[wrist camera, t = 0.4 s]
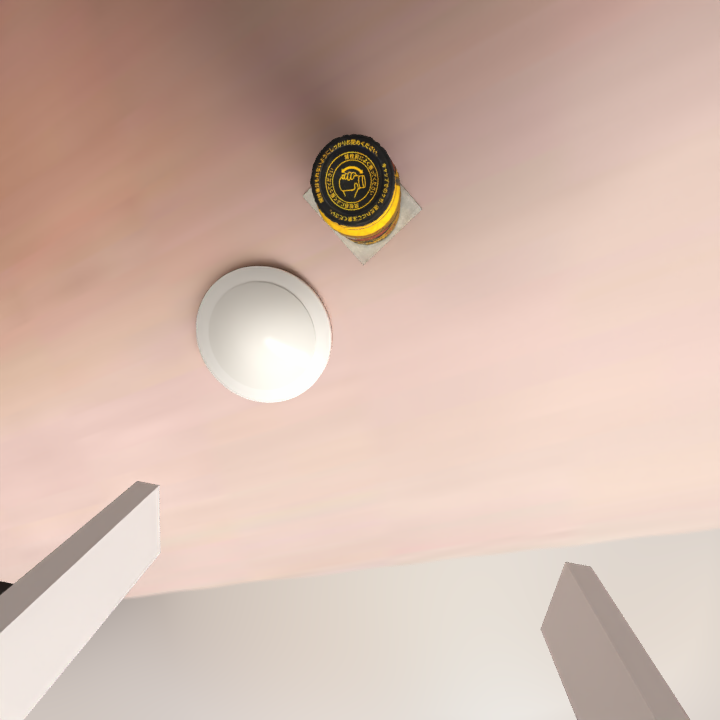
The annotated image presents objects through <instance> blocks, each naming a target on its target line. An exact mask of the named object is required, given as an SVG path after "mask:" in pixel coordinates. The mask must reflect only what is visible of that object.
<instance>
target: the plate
mask: <svg viewBox="0 0 720 720" xmlns="http://www.w3.org/2000/svg"><path fill="white" fill-rule="evenodd" d="M196 337H197V343H198V347H199V350H200V353H201V356H202V358H203V360H204V362H205V364H206V366H207V367H208V369H209V370H210V372H211V373H212V374H213V376H214V377H215V378H216V379H217V380H218V381H219V382H220V383H221V384H222V385H223V386H225V387H226V388H227V389H229V390H230V391H232V392H233V393H235V394H237V395H239V396H241V397H244V398H246V399H249V400H253V401H258V402H280V401H285V400H288V399H291V398H293V397H296V396H298V395H300V394H301V393H303V392H305V391H306V390H307V389H308V388H310V387H311V386H312V385H313V384H314V383H315V382H316V380H317V379H318V378H319V376H320V375H321V373H322V372H323V371H324V369H325V367H326V365H327V362H328V360H329V357H330V353H331V348H332V328H331V323H330V319H329V316H328V313H327V311H326V309H325V307H324V304H323V303H322V301H321V300H320V298H319V296H318V295H317V294H316V293H315V292H314V290H313V289H312V288H311V287H310V286H309V285H308V284H307V283H305V282H304V281H303V280H301V279H300V278H299V277H297V276H295V275H293V274H291V273H290V272H287V271H285V270H282V269H278V268H274V267H267V266H249V267H244V268H240V269H237V270H234V271H232V272H230V273H228V274H226V275H224V276H223V277H221V278H220V279H219V280H217V281H216V282H215V283H214V284H213V285H212V286H211V288H210V289H209V290H208V292H207V293H206V294H205V296H204V298H203V300H202V302H201V305H200V307H199V310H198V315H197V321H196Z"/></svg>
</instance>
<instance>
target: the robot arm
mask: <svg viewBox="0 0 720 720" xmlns="http://www.w3.org/2000/svg"><path fill="white" fill-rule="evenodd" d="M159 554H160V495H159V485H155V484H150V483H145V482H139V481H137V482H136V483H134V484H133V485H132V486H131V487H130V488H128V489H127V490H126V491H125V492H124V493H122V494H121V495H120V496H119V497H118V498H116V499H115V500H114V501H113V502H112V503H110V504H109V505H108V506H107V507H106V508H104V509H103V510H102V511H101V512H100V513H98V514H97V515H96V516H95V517H94V518H92V519H91V520H90V521H89V522H88V523H86V524H85V525H84V526H83V527H82V528H80V529H79V530H78V531H77V532H76V533H74V534H73V535H72V536H71V537H70V538H68V539H67V540H66V541H65V542H64V543H62V544H61V545H60V546H59V547H58V548H56V549H55V550H54V551H53V552H52V553H50V554H49V555H48V556H47V557H46V558H44V559H43V560H42V561H41V562H40V563H38V564H37V565H36V566H35V567H34V568H32V569H31V570H30V571H29V572H28V573H26V574H25V575H24V576H23V577H22V578H20V579H19V580H18V581H17V582H16V583H14V584H11V583H6V582H1V581H0V720H24V719H25V718H26V716H27V715H28V714H29V713H30V711H31V710H32V709H33V708H34V706H35V705H36V704H37V703H38V702H39V700H40V699H41V698H42V697H43V696H44V694H45V693H46V692H47V691H48V689H49V688H50V687H51V686H52V685H53V683H54V682H55V681H56V680H57V678H58V677H59V676H60V675H61V674H62V672H63V671H64V670H65V669H66V667H67V666H68V665H69V664H70V663H71V661H72V660H73V659H74V658H75V657H76V655H77V654H78V652H80V650H81V649H82V648H83V647H84V646H85V644H86V643H87V642H88V641H89V639H90V638H91V637H92V636H93V635H94V633H95V632H96V631H97V630H98V628H99V627H100V626H101V625H102V623H103V622H104V621H105V620H106V619H107V617H108V616H109V615H110V614H111V613H112V611H113V610H114V609H115V608H116V606H117V605H118V604H119V603H120V601H121V600H122V599H123V598H124V597H125V595H126V594H127V593H128V592H129V591H130V589H131V588H132V587H133V586H134V584H135V583H136V582H137V581H138V580H139V578H140V577H141V576H142V575H143V573H144V572H145V571H146V570H147V569H148V567H149V566H150V565H151V564H152V562H153V561H154V560H155V559H156V558H157V556H158V555H159ZM541 631H542V633H543V636H544V638H545V641H546V643H547V646H548V648H549V651H550V653H551V655H552V658H553V661H554V663H555V666H556V668H557V670H558V673H559V676H560V678H561V681H562V683H563V686H564V688H565V691H566V693H567V696H568V698H569V701H570V703H571V706H572V708H573V711H574V713H575V716H576V718H577V720H690V718H689V717H688V715H687V714H686V712H685V711H684V709H683V708H682V706H681V705H680V703H679V702H678V700H677V698H676V697H675V695H674V694H673V692H672V691H671V689H670V688H669V686H668V685H667V683H666V682H665V680H664V679H663V677H662V675H661V674H660V672H659V671H658V669H657V668H656V666H655V665H654V663H653V662H652V660H651V659H650V657H649V655H648V654H647V653H646V651H645V649H644V648H643V646H642V645H641V643H640V642H639V640H638V638H637V637H636V636H635V634H634V632H633V631H632V629H631V628H630V626H629V625H628V623H627V622H626V620H625V619H624V617H623V615H622V614H621V612H620V611H619V609H618V608H617V606H616V605H615V603H614V602H613V600H612V599H611V597H610V595H609V594H608V592H607V591H606V590H605V588H604V586H603V585H602V583H601V582H600V580H599V578H598V577H597V575H596V574H595V572H594V571H593V569H592V568H591V567H590V566H584V565H579V564H574V563H569V562H565V565H564V567H563V570H562V573H561V576H560V578H559V581H558V584H557V586H556V589H555V592H554V594H553V597H552V600H551V602H550V605H549V608H548V611H547V614H546V616H545V619H544V622H543V624H542V627H541Z"/></svg>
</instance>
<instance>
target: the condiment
mask: <svg viewBox="0 0 720 720" xmlns="http://www.w3.org/2000/svg"><path fill="white" fill-rule="evenodd" d="M310 184H311V188H310V189H309V190H308V191H307V192H306V193H305V194H304V195H303V197H304V199H305V200H306V201H307V202H308V203H309V204H310V205H311V206H312V208H313V209H314V210H315V211H316V212H317V213H318V214H319V215H320V217H321V218H322V219H323V220H324V221H325V222H326V223H327V225H328V226H329V227H330V228H331V229H332V230H333V231H334V232H335V234H336V235H337V236H338V237H339V238H340V239H341V240H342V242H343V243H344V244H345V245H346V246H347V247H348V248H349V249H350V251H351V252H352V253H353V254H354V255H355V256H356V257H357V259H358V260H359V261H360V262H361V263H362V264H363V265H364V264H365V263H366V262H367V261H368V260H369V259H371V258H372V257H373V256H374V255H375V254H376V253H377V252H378V251H379V250H380V249H381V248H382V247H383V246H384V245H385V244H386V243H387V242H388V241H389V240H391V239H392V238H393V237H394V236H395V235H396V234H397V233H398V232H399V231H400V230H401V229H402V228H403V227H404V226H405V225H406V224H407V223H408V222H409V221H410V220H411V219H412V218H413V217H414V216H416V215H417V214H418V213H419V212H420V211H421V210H422V209H421V208H420V206H419V205H418V204H417V203H416V202H415V200H414V199H413V198H412V197H411V196H410V195H409V193H408V192H407V191H406V190H405V189H404V187H403V186H402V185H401V184H400V180H399V173H398V172H397V169H396V167H395V166H394V164H393V162H392V161H391V159H390V157H389V156H388V154H387V152H386V150H385V149H384V148H383V147H381V146H380V144H379V143H378V142H375V141H374V140H373V139H372V138H371V137H367V136H363V135H360V134H359V135H356V134H352V135H343V136H342V137H338V138H335V139H333V140H332V141H331V142H329V143H328V144H327V145H326V146H325V147H324V148H323V149H322V150H321V152H320V153H319V154H318V156H317V158H316V160H315V162H314V164H313V169H312V175H311V180H310Z"/></svg>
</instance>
